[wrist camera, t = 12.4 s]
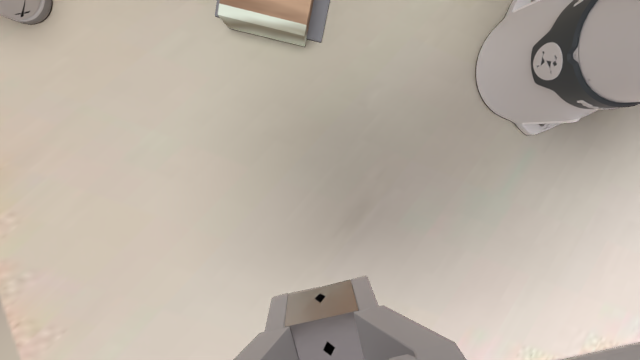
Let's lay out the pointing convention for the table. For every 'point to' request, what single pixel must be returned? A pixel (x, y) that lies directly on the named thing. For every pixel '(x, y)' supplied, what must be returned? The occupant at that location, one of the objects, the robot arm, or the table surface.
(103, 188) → the table surface
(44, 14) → the travel mug
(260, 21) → the walnut block
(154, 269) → the table surface
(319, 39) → the mat
